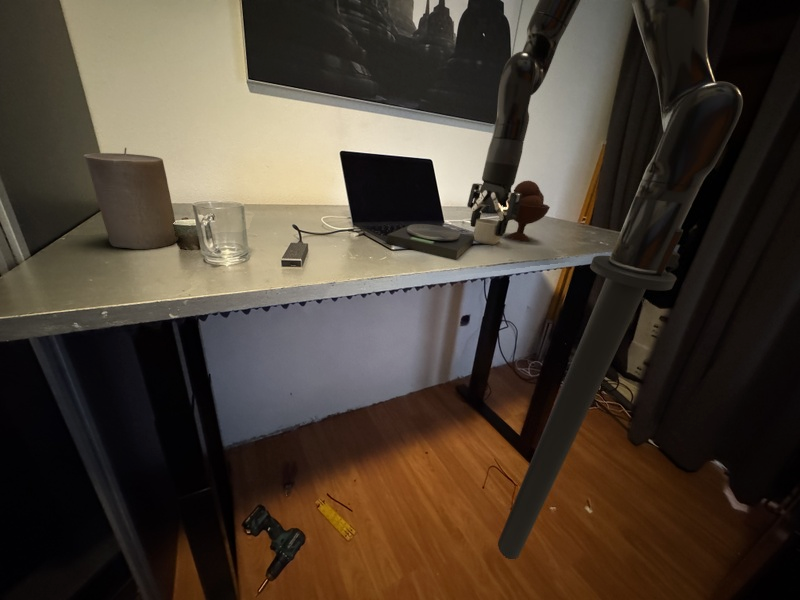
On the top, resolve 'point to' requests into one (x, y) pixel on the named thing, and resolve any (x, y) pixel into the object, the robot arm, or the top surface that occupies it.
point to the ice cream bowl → (528, 208)
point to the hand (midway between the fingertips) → (485, 230)
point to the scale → (431, 243)
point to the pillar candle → (133, 199)
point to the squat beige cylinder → (486, 231)
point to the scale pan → (433, 232)
